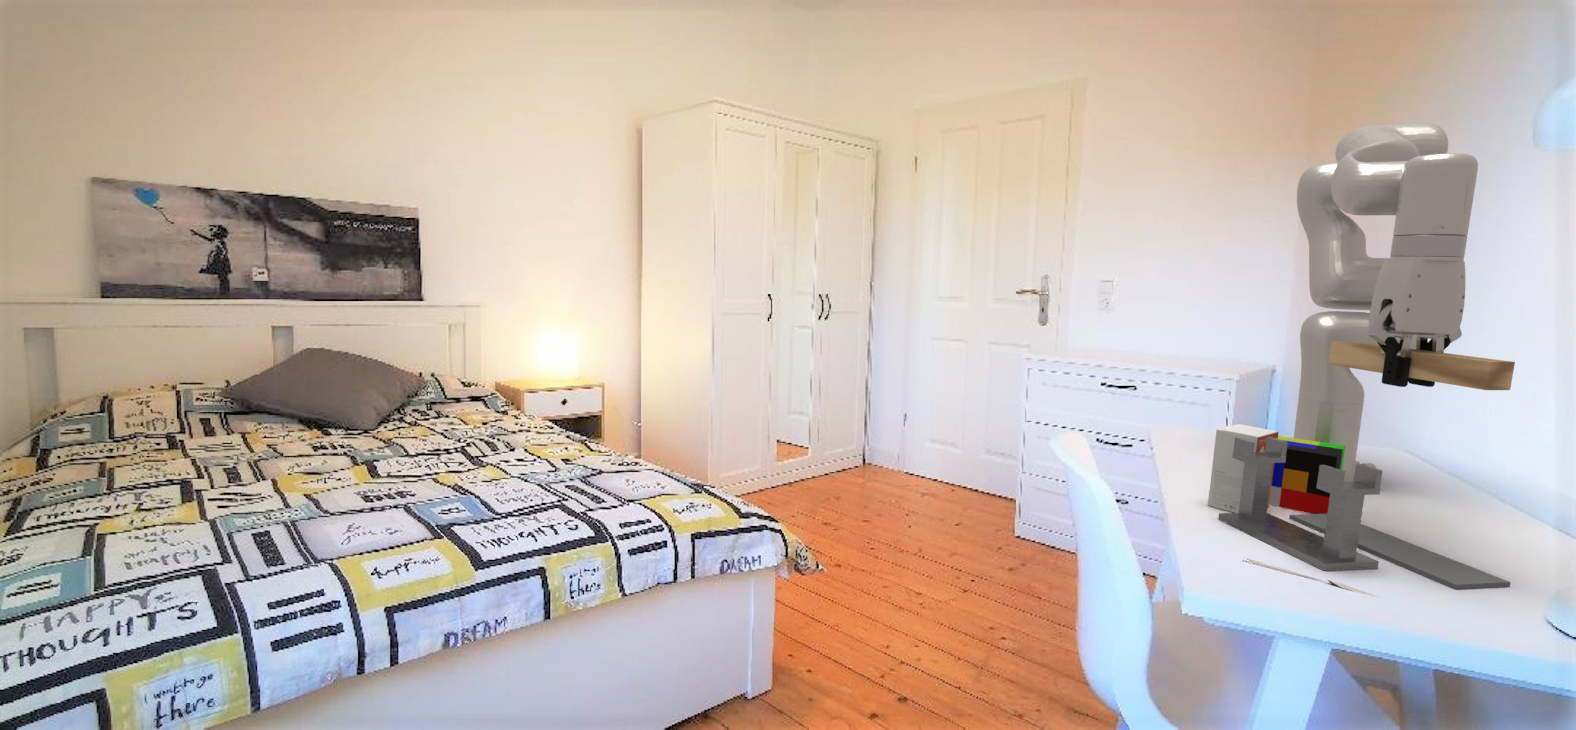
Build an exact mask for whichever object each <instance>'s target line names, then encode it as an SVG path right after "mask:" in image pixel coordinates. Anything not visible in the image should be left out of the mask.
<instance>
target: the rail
mask: <svg viewBox="0 0 1576 730" xmlns="http://www.w3.org/2000/svg"><path fill="white" fill-rule="evenodd" d="M1381 350H1382V348H1381V347H1380V346H1379V345H1377V344H1369V343H1361V342H1353V341H1331V348H1330V355H1329V363H1328V364H1330V365H1336V366H1342V367H1349V368H1350V369H1355V370H1362V371H1367V372H1373V373H1379V374H1383V367H1384V360H1385V355H1383V354H1382V353H1381ZM1406 357H1408V358H1411V363H1410V370H1409V376H1408V377H1409V378H1415V379H1421V380H1427V381H1433V382H1435V383H1440V384H1447V385H1453V386H1459V387H1464V388H1471V389H1476V390H1482V391H1511V387H1512V381H1513V375H1514V371H1515V365H1516V364H1515V361H1511V360H1502V359H1495V358H1487V357H1478V356H1469V355H1463V354H1455V353H1446V352H1444V353H1440V352H1432V351H1424V350H1416V349H1409V352H1408V355H1407V356H1406Z"/></svg>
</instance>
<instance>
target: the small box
mask: <svg viewBox="0 0 1576 730" xmlns="http://www.w3.org/2000/svg"><path fill="white" fill-rule="evenodd" d="M1279 432H1280V431H1278V430H1273V429H1267V428H1263V427H1257V426H1254V425H1253V426H1252V425H1246V424H1243V423H1242V424H1241V423H1237V424H1234V425H1227V426H1224V427H1221V428H1219V429H1217V428H1216V433H1215V439H1214V449H1213V457H1212V464H1211V465H1212V466H1211V477H1210V484H1209V492H1208V493H1209V494H1208V501H1207V506H1209V507H1212V506H1213V507H1212V508H1216V509H1219V508H1220V510H1224V511H1227V512H1230V511H1231V512H1230V513H1239V505H1240V497H1241V488H1242V480H1243V471H1244V463H1245V462H1242V461H1239V460H1237V459H1234V458H1232V457H1233V450H1234V442H1235V438H1239V437H1240V438H1243V439H1246V440H1249V441H1252V442H1255V446H1254V452H1265V451H1266V442H1267V437H1273V438H1276V439H1278V436H1279ZM1273 470H1274V463H1272V471H1271V479H1270V487H1269V496H1268V504H1267V509H1268V508H1269V507H1270V505H1269V501H1270V494H1271V485H1272V478H1273Z"/></svg>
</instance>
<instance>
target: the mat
mask: <svg viewBox="0 0 1576 730" xmlns="http://www.w3.org/2000/svg"><path fill="white" fill-rule="evenodd" d="M1288 519H1290V520H1291V521H1292V520H1293V521H1294V522H1296V523H1299V524H1302V525H1304V526H1306V527H1308V528H1310V529H1313V530H1315V531H1318V532H1319V533H1322V534H1325V528H1326V521H1327V514H1311V513H1305V514H1289V518H1288ZM1357 549H1359V550H1362V551H1365V552H1367V553H1369V554H1372V555H1374V556H1376V557H1379V558H1381V559H1383V560H1386V561H1388V562H1391V563H1393V564H1395V565H1396V566H1400V567H1402V568H1404V569H1407V570H1409V571H1411V572H1414V573H1416V574H1419V575H1421V576H1423V577H1425V578H1427V579H1430V580H1433V581H1435V582H1438V583H1439V582H1440V583H1439V584H1442V585H1444V586H1447V587H1449V588H1451V589H1453V590H1468V589H1471V588H1472V589H1487V588H1488V589H1489V588H1505V587H1506V588H1507V587H1511V581H1508V580H1506V579H1504V578H1501V577H1498V576H1497V575H1494V574H1491V573H1488V572H1485V571H1483V570H1481V569H1479V568H1475V567H1473V566H1470V565H1468V564H1466V563H1463V562H1460V561H1457V560H1455V559H1453V558H1450V557H1447V556H1446V555H1445V556H1444V555H1442V554H1439V553H1436V552H1434V551H1432V550H1431V549H1430V550H1429V549H1427V548H1425V547H1422V546H1419V545H1417V544H1414V543H1412V542H1409V541H1406V540H1403V539H1401V538H1399V537H1396V536H1394V535H1391V534H1388V533H1385V532H1383V531H1380V530H1378V529H1375V528H1373V527H1370V526H1368V525H1366V524H1363V523H1360V530H1359V537H1358V544H1357Z"/></svg>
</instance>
